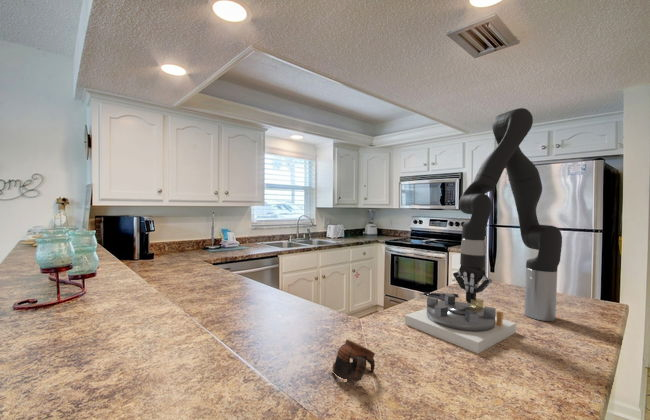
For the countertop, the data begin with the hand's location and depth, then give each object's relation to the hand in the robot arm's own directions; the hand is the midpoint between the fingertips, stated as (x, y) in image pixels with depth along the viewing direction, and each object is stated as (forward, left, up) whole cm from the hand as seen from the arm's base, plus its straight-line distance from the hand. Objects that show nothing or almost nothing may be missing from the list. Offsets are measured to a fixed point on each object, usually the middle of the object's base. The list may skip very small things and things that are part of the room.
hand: (470, 303), depth 104 cm
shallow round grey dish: (+9, +1, -3) cm, 9 cm away
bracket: (-14, -18, -7) cm, 24 cm away
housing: (+9, +1, -6) cm, 11 cm away
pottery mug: (+55, +2, -7) cm, 55 cm away
